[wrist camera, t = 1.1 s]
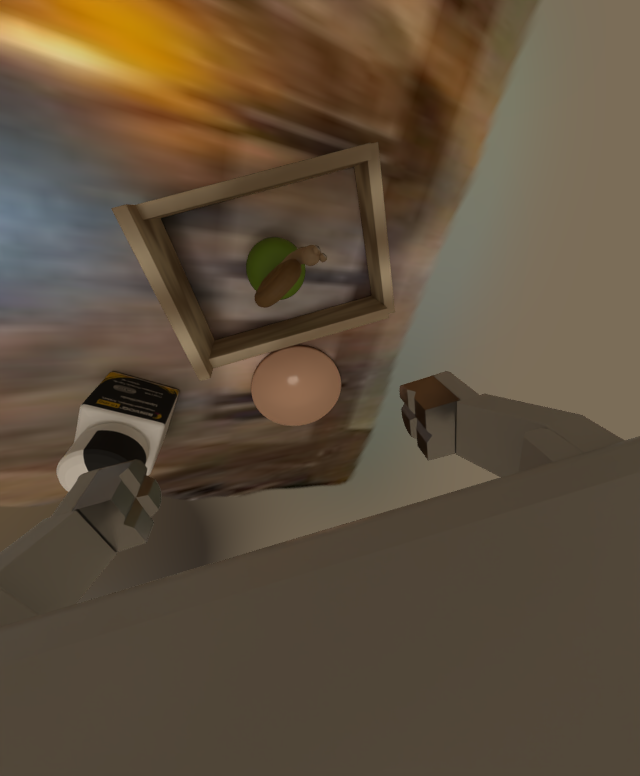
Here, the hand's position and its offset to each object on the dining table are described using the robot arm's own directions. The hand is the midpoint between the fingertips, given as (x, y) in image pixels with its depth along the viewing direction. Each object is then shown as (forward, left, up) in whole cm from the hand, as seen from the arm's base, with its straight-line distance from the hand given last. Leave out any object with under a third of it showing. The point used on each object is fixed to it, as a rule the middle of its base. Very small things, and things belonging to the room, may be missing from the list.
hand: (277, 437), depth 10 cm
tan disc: (+13, 0, -26) cm, 29 cm away
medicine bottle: (+10, -18, -26) cm, 33 cm away
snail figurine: (-1, +2, -26) cm, 26 cm away
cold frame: (-1, +2, -26) cm, 26 cm away
